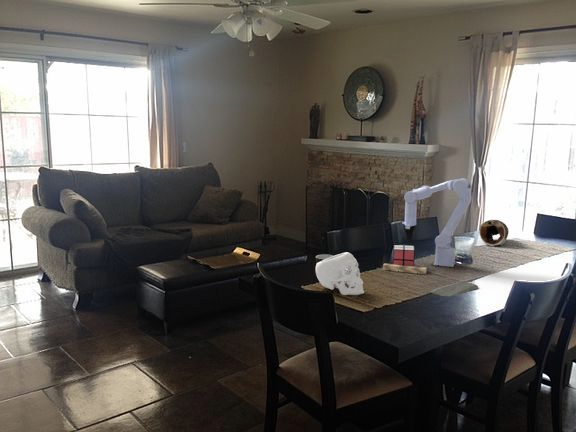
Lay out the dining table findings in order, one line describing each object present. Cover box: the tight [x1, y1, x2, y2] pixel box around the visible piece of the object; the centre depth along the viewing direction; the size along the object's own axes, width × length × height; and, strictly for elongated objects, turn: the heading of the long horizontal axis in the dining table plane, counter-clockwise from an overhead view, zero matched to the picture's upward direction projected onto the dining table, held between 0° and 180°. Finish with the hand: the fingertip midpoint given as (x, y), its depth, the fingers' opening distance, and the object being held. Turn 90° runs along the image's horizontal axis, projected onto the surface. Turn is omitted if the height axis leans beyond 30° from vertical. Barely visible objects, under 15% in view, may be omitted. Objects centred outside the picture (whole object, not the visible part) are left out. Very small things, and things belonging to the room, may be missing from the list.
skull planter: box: [315, 251, 365, 296], centre depth 217 cm, size 14×20×19 cm
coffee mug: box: [315, 254, 334, 264], centre depth 235 cm, size 12×9×10 cm
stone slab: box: [429, 280, 479, 297], centre depth 217 cm, size 22×3×10 cm
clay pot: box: [478, 219, 510, 247], centre depth 308 cm, size 15×15×25 cm
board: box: [382, 263, 427, 275], centre depth 246 cm, size 20×3×2 cm, turn 67°
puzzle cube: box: [392, 244, 416, 266], centre depth 253 cm, size 10×10×10 cm
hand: (409, 240), depth 266 cm, fingers closed
